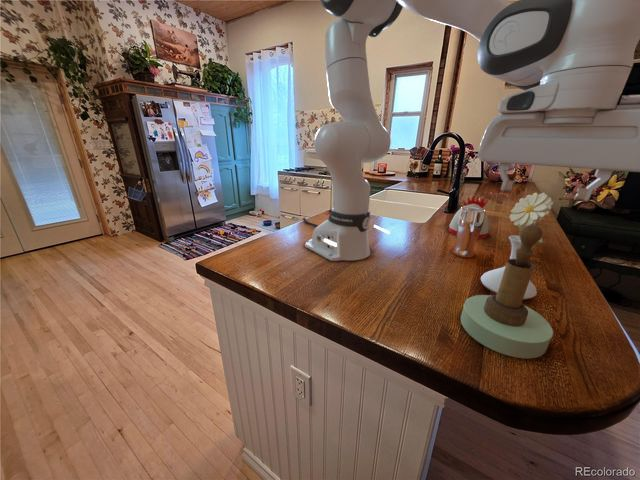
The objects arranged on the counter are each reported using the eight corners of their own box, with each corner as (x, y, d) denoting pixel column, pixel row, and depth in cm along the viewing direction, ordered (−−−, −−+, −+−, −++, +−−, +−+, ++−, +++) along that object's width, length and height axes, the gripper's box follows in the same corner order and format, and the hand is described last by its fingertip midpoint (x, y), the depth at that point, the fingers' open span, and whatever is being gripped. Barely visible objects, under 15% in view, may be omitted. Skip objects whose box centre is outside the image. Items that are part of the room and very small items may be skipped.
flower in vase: (475, 275, 70) (500, 184, 61) (525, 283, 67) (559, 187, 57) (484, 301, 59) (516, 194, 50) (545, 313, 55) (591, 199, 46)
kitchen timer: (487, 241, 94) (498, 201, 89) (446, 234, 101) (454, 196, 96) (487, 230, 106) (496, 194, 100) (450, 225, 112) (457, 190, 107)
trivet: (452, 332, 50) (455, 317, 48) (469, 300, 59) (472, 287, 58) (545, 373, 41) (552, 356, 40) (547, 328, 51) (553, 313, 50)
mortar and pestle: (479, 314, 49) (505, 225, 43) (488, 300, 53) (513, 218, 47) (521, 331, 45) (557, 236, 38) (527, 315, 49) (561, 226, 42)
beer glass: (478, 259, 80) (490, 213, 75) (454, 257, 81) (464, 211, 76) (470, 250, 87) (481, 207, 81) (448, 248, 88) (457, 205, 82)
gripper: (686, 94, 32) (632, 203, 37) (495, 104, 44) (475, 184, 49) (706, 87, 27) (642, 211, 33) (488, 100, 40) (467, 189, 45)
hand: (540, 195), depth 41 cm, fingers open, 8 cm apart
